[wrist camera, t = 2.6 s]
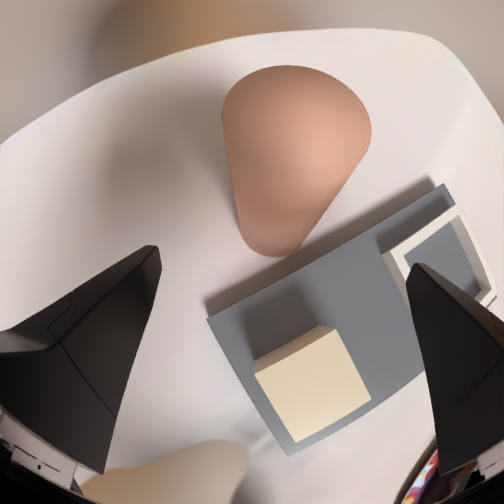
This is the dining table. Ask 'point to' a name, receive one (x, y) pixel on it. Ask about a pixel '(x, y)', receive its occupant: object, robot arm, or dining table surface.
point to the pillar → (290, 151)
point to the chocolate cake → (435, 482)
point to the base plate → (347, 322)
